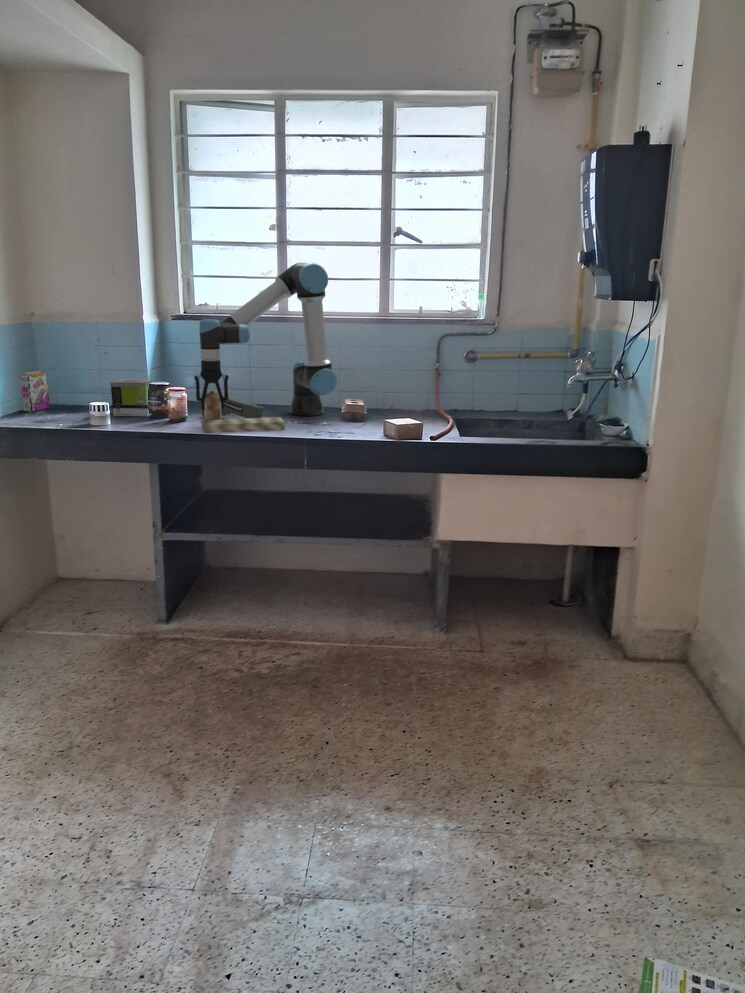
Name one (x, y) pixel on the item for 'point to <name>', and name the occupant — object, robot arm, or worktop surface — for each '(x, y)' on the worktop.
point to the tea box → (130, 397)
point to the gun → (240, 409)
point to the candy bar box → (34, 391)
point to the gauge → (213, 405)
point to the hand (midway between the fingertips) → (213, 417)
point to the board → (242, 425)
